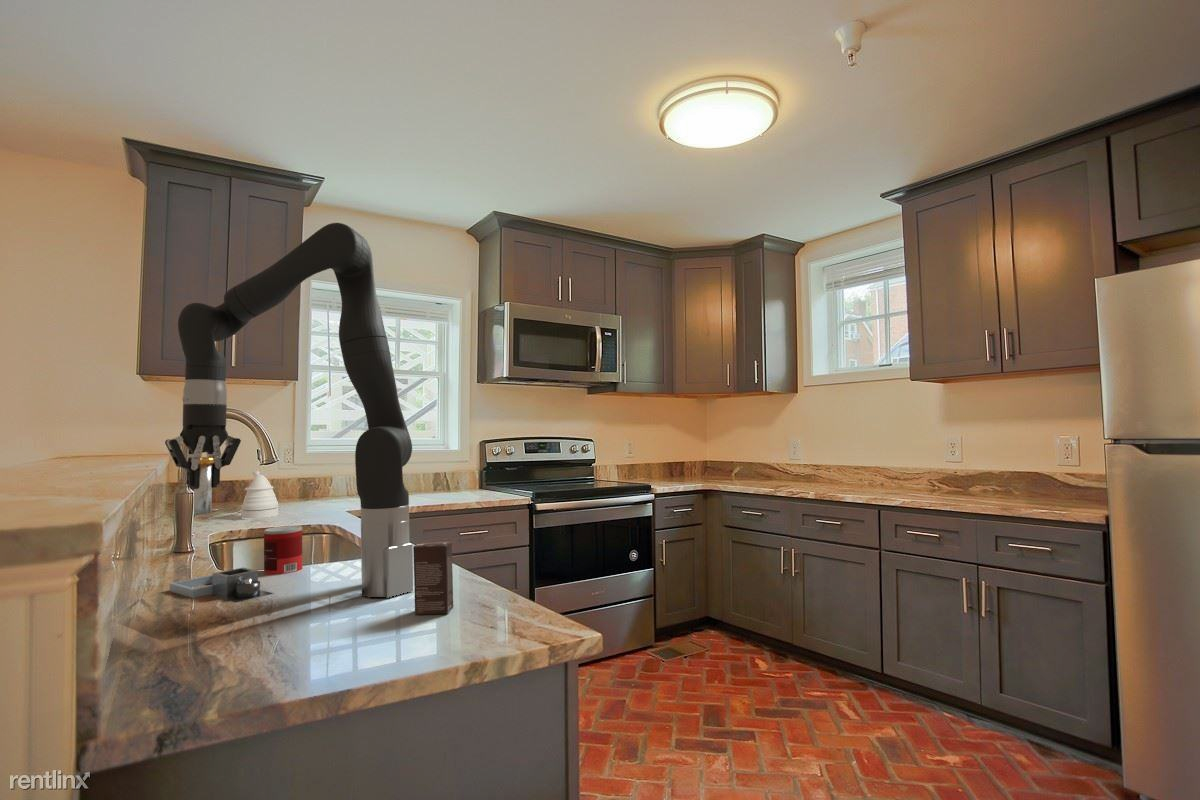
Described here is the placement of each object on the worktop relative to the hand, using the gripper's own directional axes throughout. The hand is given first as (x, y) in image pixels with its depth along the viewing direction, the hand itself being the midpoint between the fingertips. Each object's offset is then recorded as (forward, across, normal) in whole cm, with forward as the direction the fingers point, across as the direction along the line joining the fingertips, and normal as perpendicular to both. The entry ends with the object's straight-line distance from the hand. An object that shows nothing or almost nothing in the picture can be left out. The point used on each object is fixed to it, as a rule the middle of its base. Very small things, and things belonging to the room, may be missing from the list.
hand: (203, 487), depth 126 cm
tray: (+22, 0, 0) cm, 22 cm away
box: (+21, +17, -50) cm, 57 cm away
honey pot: (+24, +70, +112) cm, 135 cm away
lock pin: (+5, 0, 0) cm, 5 cm away
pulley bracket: (+22, +2, -11) cm, 24 cm away
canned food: (+22, +18, +2) cm, 29 cm away
